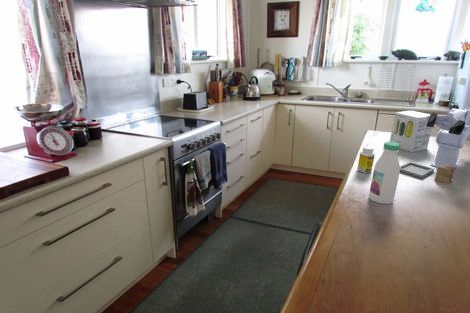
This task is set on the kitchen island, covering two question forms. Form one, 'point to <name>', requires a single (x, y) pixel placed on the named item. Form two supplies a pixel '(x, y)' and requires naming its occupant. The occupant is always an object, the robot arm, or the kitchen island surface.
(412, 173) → the grey tray
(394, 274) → the kitchen island surface
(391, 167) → the milk bottle
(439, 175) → the walnut block
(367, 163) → the supplement bottle
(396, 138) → the supplement box
